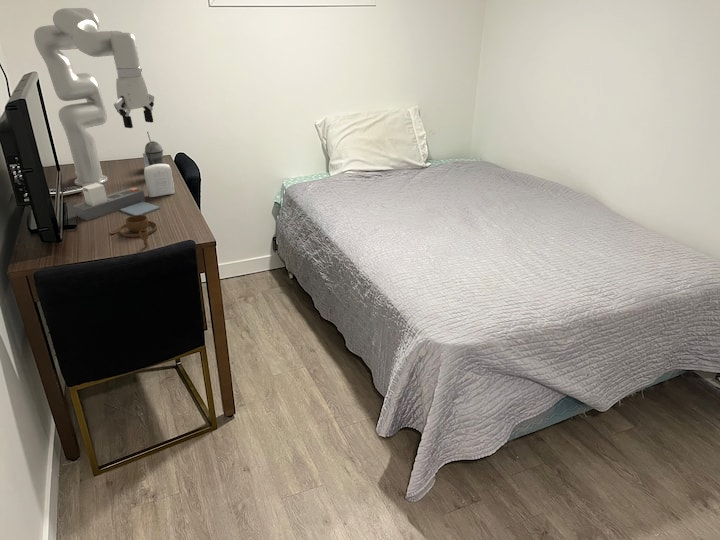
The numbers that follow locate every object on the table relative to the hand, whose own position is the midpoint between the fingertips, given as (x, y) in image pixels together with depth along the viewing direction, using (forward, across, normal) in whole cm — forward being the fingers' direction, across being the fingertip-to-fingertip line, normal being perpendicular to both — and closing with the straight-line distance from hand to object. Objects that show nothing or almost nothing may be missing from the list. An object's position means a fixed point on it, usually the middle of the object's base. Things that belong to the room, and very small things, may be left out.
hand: (139, 124), depth 181 cm
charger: (+28, +14, -13) cm, 34 cm away
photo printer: (+30, -10, -6) cm, 32 cm away
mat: (+30, +6, -1) cm, 31 cm away
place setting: (+31, +24, +14) cm, 42 cm away
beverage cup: (+30, -26, -22) cm, 45 cm away
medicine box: (+30, -34, -32) cm, 55 cm away
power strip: (+30, +9, -12) cm, 34 cm away
